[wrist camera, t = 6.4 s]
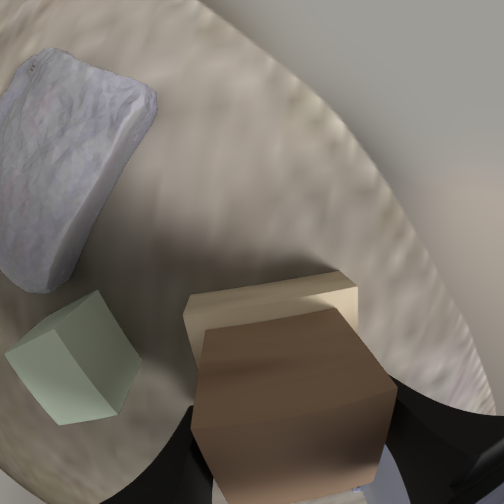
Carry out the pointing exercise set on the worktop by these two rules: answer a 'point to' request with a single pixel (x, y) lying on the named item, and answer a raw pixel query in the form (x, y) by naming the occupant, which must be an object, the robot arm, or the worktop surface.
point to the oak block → (269, 304)
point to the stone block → (62, 160)
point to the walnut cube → (290, 409)
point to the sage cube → (77, 362)
